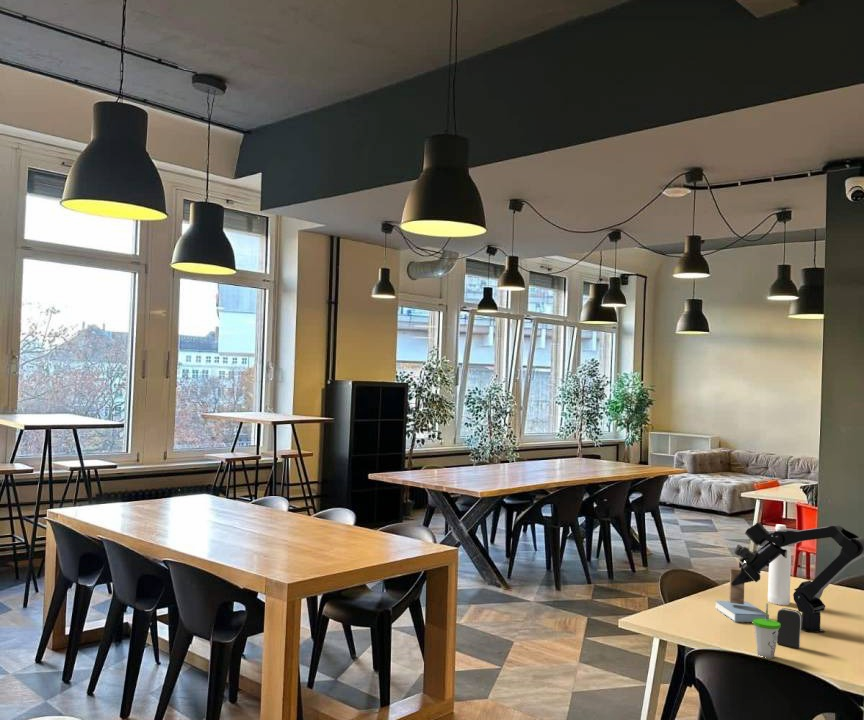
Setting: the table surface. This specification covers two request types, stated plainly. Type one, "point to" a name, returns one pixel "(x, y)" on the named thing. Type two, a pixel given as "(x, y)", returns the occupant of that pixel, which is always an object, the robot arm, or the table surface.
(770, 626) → the cup
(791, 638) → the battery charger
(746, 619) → the book
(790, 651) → the table surface
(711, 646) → the table surface
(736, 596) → the brown wooden block
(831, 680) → the table surface
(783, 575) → the bottle
